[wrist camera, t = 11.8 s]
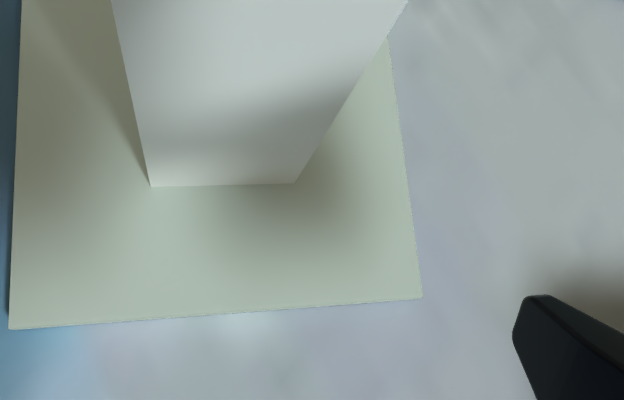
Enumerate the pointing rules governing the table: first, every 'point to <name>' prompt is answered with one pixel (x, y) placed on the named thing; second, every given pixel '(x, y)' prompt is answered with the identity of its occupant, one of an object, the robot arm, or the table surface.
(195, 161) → the plug
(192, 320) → the table surface
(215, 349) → the table surface
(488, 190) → the table surface
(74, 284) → the rubber mat
